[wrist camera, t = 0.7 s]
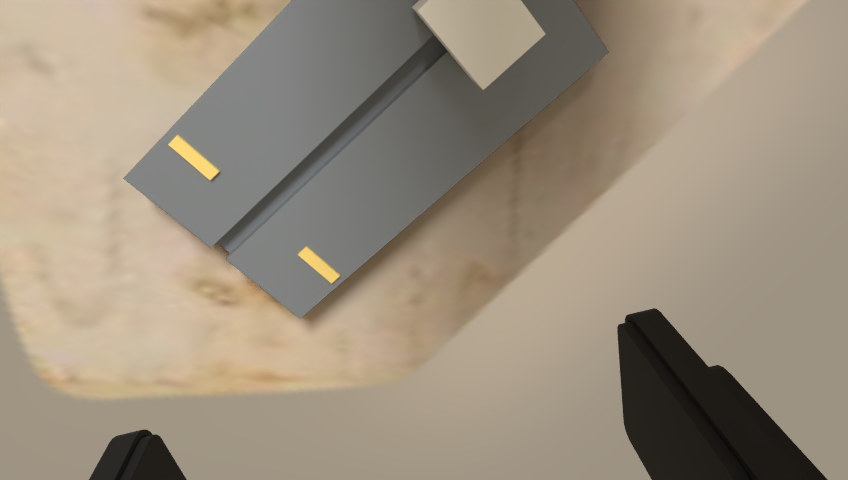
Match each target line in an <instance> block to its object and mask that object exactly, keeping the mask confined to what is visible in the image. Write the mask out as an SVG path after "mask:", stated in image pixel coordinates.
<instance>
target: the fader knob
mask: <svg viewBox="0 0 848 480" xmlns="http://www.w3.org/2000/svg"><path fill="white" fill-rule="evenodd" d="M412 8H413V10H414V11H415V12H416V13H417V14H418V16H419V17H420V18H421V19H422V21H423V22H424V23H425V24H426V25H427V27H428V28H429V29H430V30H431V31H432V33H433V34H434V35H435V36H436V37H437V39H438V40H439V41H440V42H441V43H442V45H443V46H444V47H445V48H446V50H447V51H448V52H449V53H450V54H451V56H452V57H453V58H454V59H455V60H456V62H457V63H458V64H459V65H460V66H461V68H462V69H463V70H464V71H465V73H466V74H467V75H468V76H469V77H470V78H471V79H472V80H473V81H474V82H475V83H476V84H477V85H478V86H479V87H480V88H481V89H482V90H484V89H485V88H486V87H487V86H489V85H490V84H491V83H492V82H493V81H494V80H495V79H496V78H497V77H499V76H500V75H501V74H502V73H503V72H504V71H505V70H506V69H507V68H509V67H510V66H511V65H512V64H513V63H514V62H515V61H516V60H517V59H519V58H520V57H521V56H522V55H523V54H524V53H525V52H526V51H527V50H529V49H530V48H531V47H532V46H533V45H534V44H535V43H536V42H537V41H539V40H540V39H541V38H542V37H543V36H544V35H545V33H544V31H543V30H542V28H541V27H540V26H539V24H538V23H537V22H536V20H535V19H534V17H533V16H532V15H531V13H530V12H529V11H528V9H527V8H526V6H525V5H524V4H523V2H522V1H521V0H419V1H418V2H417V3H416V4H414V5H413V6H412Z"/></svg>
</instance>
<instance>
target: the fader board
mask: <svg viewBox="0 0 848 480" xmlns="http://www.w3.org/2000/svg"><path fill="white" fill-rule="evenodd" d="M418 1H419V0H292V1H291V2H290V3H289V4H288V5H287V6H286V7H285V8H284V9H283V10H282V11H281V12H280V13H279V14H278V15H277V16H276V17H275V19H274V20H273V21H272V22H271V23H270V24H269V25H268V26H267V27H266V28H265V29H264V30H263V31H262V32H261V33H260V34H259V35H258V37H257V38H256V39H255V40H254V41H253V42H252V43H251V44H250V45H249V46H248V47H247V48H246V49H245V50H244V51H243V52H242V53H241V54H240V56H239V57H238V58H237V59H236V60H235V61H234V62H233V63H232V64H231V65H230V66H229V67H228V68H227V69H226V70H225V71H224V72H223V73H222V75H221V76H220V77H219V78H218V79H217V80H216V81H215V82H214V83H213V84H212V85H211V86H210V87H209V88H208V89H207V90H206V91H205V93H204V94H203V95H202V96H201V97H200V98H199V99H198V100H197V101H196V102H195V103H194V104H193V105H192V106H191V107H190V108H189V109H188V110H187V112H186V113H185V114H184V115H183V116H182V117H181V118H180V119H179V120H178V121H177V122H176V123H175V124H174V125H173V126H172V127H171V128H170V129H169V131H168V132H167V133H166V134H165V135H164V136H163V137H162V138H161V139H160V140H159V141H158V142H157V143H156V144H155V145H154V146H153V147H152V149H151V150H150V151H149V152H148V153H147V154H146V155H145V156H144V157H143V158H142V159H141V160H140V161H139V162H138V163H137V164H136V165H135V166H134V168H133V169H132V170H131V171H130V172H129V173H128V174H127V175H126V176H125V177H124V178H123V179H125V180H126V181H127V182H128V183H130V184H131V185H132V186H133V187H135V188H136V189H137V190H138V191H140V192H141V193H142V194H143V195H145V196H146V197H147V198H149V199H150V200H151V201H152V202H154V203H155V204H156V205H157V206H159V207H160V208H161V209H162V210H164V211H165V212H166V213H167V214H169V215H170V216H171V217H173V218H174V219H175V220H176V221H178V222H179V223H180V224H181V225H183V226H184V227H185V228H186V229H188V230H189V231H190V232H191V233H193V234H194V235H195V236H196V237H198V238H199V239H200V240H202V241H203V242H204V243H205V244H207V245H208V246H209V247H210V248H211V247H212V246H213V245H214V244H215V243H216V242H217V243H218V244H219V245H220V246H222V247H223V248H224V249H225V250H227V251H228V252H229V255H228V257H227V259H226V260H227V261H228V262H229V263H231V264H232V265H233V266H234V267H236V268H237V269H238V270H239V271H241V272H242V273H243V274H244V275H246V276H247V277H248V278H250V279H251V280H252V281H253V282H255V283H256V284H257V285H258V286H260V287H261V288H262V289H263V290H265V291H266V292H267V293H268V294H270V295H271V296H272V297H273V298H275V299H276V300H277V301H279V302H280V303H281V304H282V305H284V306H285V307H286V308H287V309H289V310H290V311H291V312H292V313H294V314H295V315H296V316H297V317H299V318H301V317H302V316H304V315H305V314H306V313H307V312H308V311H309V310H311V309H312V308H313V307H314V306H315V305H316V304H318V303H319V302H320V301H321V300H322V299H323V298H325V297H326V296H327V295H328V294H329V293H330V292H331V291H333V290H334V289H335V288H336V287H337V286H338V285H340V284H341V283H342V282H343V281H344V280H345V279H347V278H348V277H349V276H350V275H351V274H352V273H353V272H355V271H356V270H357V269H358V268H359V267H360V266H362V265H363V264H364V263H365V262H366V261H367V260H369V259H370V258H371V257H372V256H373V255H374V254H376V253H377V252H378V251H379V250H380V249H381V248H382V247H384V246H385V245H386V244H387V243H388V242H389V241H391V240H392V239H393V238H394V237H395V236H396V235H398V234H399V233H400V232H401V231H402V230H403V229H405V228H406V227H407V226H408V225H409V224H410V223H411V222H413V221H414V220H415V219H416V218H417V217H418V216H420V215H421V214H422V213H423V212H424V211H425V210H427V209H428V208H429V207H430V206H431V205H432V204H434V203H435V202H436V201H437V200H438V199H439V198H440V197H442V196H443V195H444V194H445V193H446V192H447V191H449V190H450V189H451V188H452V187H453V186H454V185H456V184H457V183H458V182H459V181H460V180H461V179H463V178H464V177H465V176H466V175H467V174H468V173H469V172H471V171H472V170H473V169H474V168H475V167H476V166H478V165H479V164H480V163H481V162H482V161H483V160H485V159H486V158H487V157H488V156H489V155H490V154H491V153H493V152H494V151H495V150H496V149H497V148H498V147H500V146H501V145H502V144H503V143H504V142H505V141H507V140H508V139H509V138H510V137H511V136H512V135H514V134H515V133H516V132H517V131H518V130H519V129H520V128H522V127H523V126H524V125H525V124H526V123H527V122H529V121H530V120H531V119H532V118H533V117H534V116H536V115H537V114H538V113H539V112H540V111H541V110H543V109H544V108H545V107H546V106H547V105H548V104H549V103H551V102H552V101H553V100H554V99H555V98H556V97H558V96H559V95H560V94H561V93H562V92H563V91H565V90H566V89H567V88H568V87H569V86H570V85H572V84H573V83H574V82H575V81H576V80H577V79H578V78H580V77H581V76H582V75H583V74H584V73H585V72H587V71H588V70H589V69H590V68H591V67H592V66H594V65H595V64H596V63H597V62H598V61H599V60H600V59H602V58H603V57H604V56H605V55H606V54H607V53H609V51H608V50H607V48H606V47H605V45H604V44H603V42H602V41H601V39H600V38H599V36H598V35H597V33H596V32H595V31H594V29H593V28H592V26H591V25H590V23H589V22H588V20H587V19H586V17H585V16H584V14H583V13H582V12H581V10H580V9H579V7H578V6H577V4H576V3H575V1H574V0H521V1H522V2H523V4H524V5H525V6H526V8H527V9H528V11H529V12H530V13H531V15H532V16H533V17H534V19H535V20H536V22H537V23H538V24H539V26H540V27H541V28H542V30H543V31H544V33H545V35H544V36H543V37H542V38H541V39H540V40H539V41H537V42H536V43H535V44H534V45H533V46H532V47H531V48H530V49H529V50H527V51H526V52H525V53H524V54H523V55H522V56H521V57H520V58H519V59H517V60H516V61H515V62H514V63H513V64H512V65H511V66H510V67H509V68H507V69H506V70H505V71H504V72H503V73H502V74H501V75H500V76H499V77H497V78H496V79H495V80H494V81H493V82H492V83H491V84H490V85H489V86H487V87H486V88H485V89H484V90H482V89H481V88H480V87H479V86H478V85H477V84H476V83H475V82H474V81H473V80H472V79H471V78H470V77H469V76H468V75H467V74H466V73H465V71H464V70H463V69H462V68H461V66H460V65H459V64H458V63H457V62H456V60H455V59H454V58H453V57H452V56H451V54H450V53H449V52H448V51H447V50H446V48H445V47H444V46H443V45H442V43H441V42H440V41H439V40H438V39H437V37H436V36H435V35H434V34H433V33H432V31H431V30H430V29H429V28H428V27H427V25H426V24H425V23H424V22H423V21H422V19H421V18H420V17H419V16H418V14H417V13H416V12H415V11H414V10H413V8H412V6H413V5H414V4H416V3H417V2H418Z"/></svg>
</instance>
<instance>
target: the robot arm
mask: <svg viewBox="0 0 848 480" xmlns="http://www.w3.org/2000/svg"><path fill="white" fill-rule="evenodd" d="M618 344H619V359H620V373H621V388H622V403H623V417H624V425H625V430H626V432H627V435H628V437H629V440H630V442H631V444H632V445H633V447H634V449H635V450H636V452H637V454H638V456H639V458H640V459H641V461H642V463H643V465H644V467H645V468H646V470H647V472H648V474H649V475H650V477H651V479H652V480H827V479H826V478H825V476H824V475H823V474H822V473H821V472H820V471H819V470H818V469H817V468H816V467H815V466H814V464H813V463H812V462H811V461H810V460H809V459H808V458H807V457H806V456H805V455H804V454H803V453H802V451H801V450H800V449H799V448H798V447H797V446H796V445H795V444H794V443H793V442H792V441H791V439H790V438H789V437H788V436H787V435H786V434H785V433H784V432H783V431H782V429H781V428H780V427H779V426H778V425H777V424H776V423H775V422H774V421H773V420H772V419H771V417H770V416H769V415H768V414H767V413H766V412H765V411H764V410H763V409H762V408H761V407H760V405H759V404H758V403H757V402H756V401H755V400H754V399H753V398H752V397H751V396H750V395H749V394H748V392H747V391H746V390H745V389H744V388H743V387H742V386H741V385H740V384H739V383H738V381H737V380H736V379H735V378H734V377H733V376H732V375H731V374H730V373H729V372H728V371H727V370H726V369H724V368H723V367H721V366H719V365H716V366H712V367H708V366H707V365H706V364H705V362H704V361H703V360H702V359H701V358H700V357H699V356H698V354H696V352H695V351H694V350H693V349H692V348H691V346H690V345H689V344H688V343H687V342H686V341H685V340H684V338H682V336H681V335H680V334H679V333H678V332H677V330H676V329H675V328H674V327H673V326H672V325H671V324H670V322H669V321H668V320H667V319H666V318H665V317H664V316H663V315H662V313H661V312H660V311H659V310H657V309H650V310H646V311H642V312H637V313H633V314H629V315H627V316H626V318H625V323H623V324H619V325H618ZM89 480H186V478H185V476H184V475H183V473H182V472H181V470H180V468H179V467H178V465H177V463H176V462H175V460H174V458H173V457H172V455H171V453H170V452H169V450H168V449H167V447H166V445H165V444H164V442H163V440H162V439H161V438H160V436H158V435H152V433H151V432H150V431H148V430H140V431H136V432H131V433H127V434H123V435H119V436H116V437H114V438H113V439H112V440H111V441H110V443H109V445H108V447H107V448H106V450H105V452H104V454H103V456H102V457H101V459H100V461H99V463H98V464H97V466H96V468H95V470H94V472H93V474H92V475H91V477H90V479H89Z"/></svg>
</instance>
